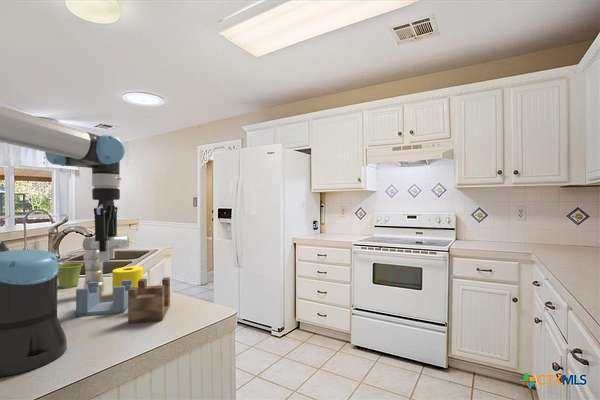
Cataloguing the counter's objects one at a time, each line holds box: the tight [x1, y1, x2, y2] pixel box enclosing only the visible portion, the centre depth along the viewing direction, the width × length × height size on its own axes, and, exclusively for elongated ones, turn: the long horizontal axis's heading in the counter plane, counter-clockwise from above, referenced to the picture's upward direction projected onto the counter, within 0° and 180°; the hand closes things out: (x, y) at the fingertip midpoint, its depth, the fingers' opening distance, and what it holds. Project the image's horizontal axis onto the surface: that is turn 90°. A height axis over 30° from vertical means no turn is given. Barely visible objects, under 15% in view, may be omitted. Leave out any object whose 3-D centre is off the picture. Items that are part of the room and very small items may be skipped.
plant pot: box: [57, 262, 84, 289], centre depth 124 cm, size 9×9×9 cm
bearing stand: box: [127, 276, 171, 325], centre depth 93 cm, size 9×13×10 cm
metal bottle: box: [83, 250, 105, 295], centre depth 112 cm, size 6×7×20 cm
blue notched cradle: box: [75, 280, 132, 317], centre depth 97 cm, size 9×13×8 cm
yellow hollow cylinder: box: [112, 265, 144, 288], centre depth 113 cm, size 10×10×9 cm
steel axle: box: [82, 235, 130, 251], centre depth 97 cm, size 12×4×4 cm, turn 104°
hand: (106, 259), depth 97 cm, fingers closed on steel axle, 4 cm apart
